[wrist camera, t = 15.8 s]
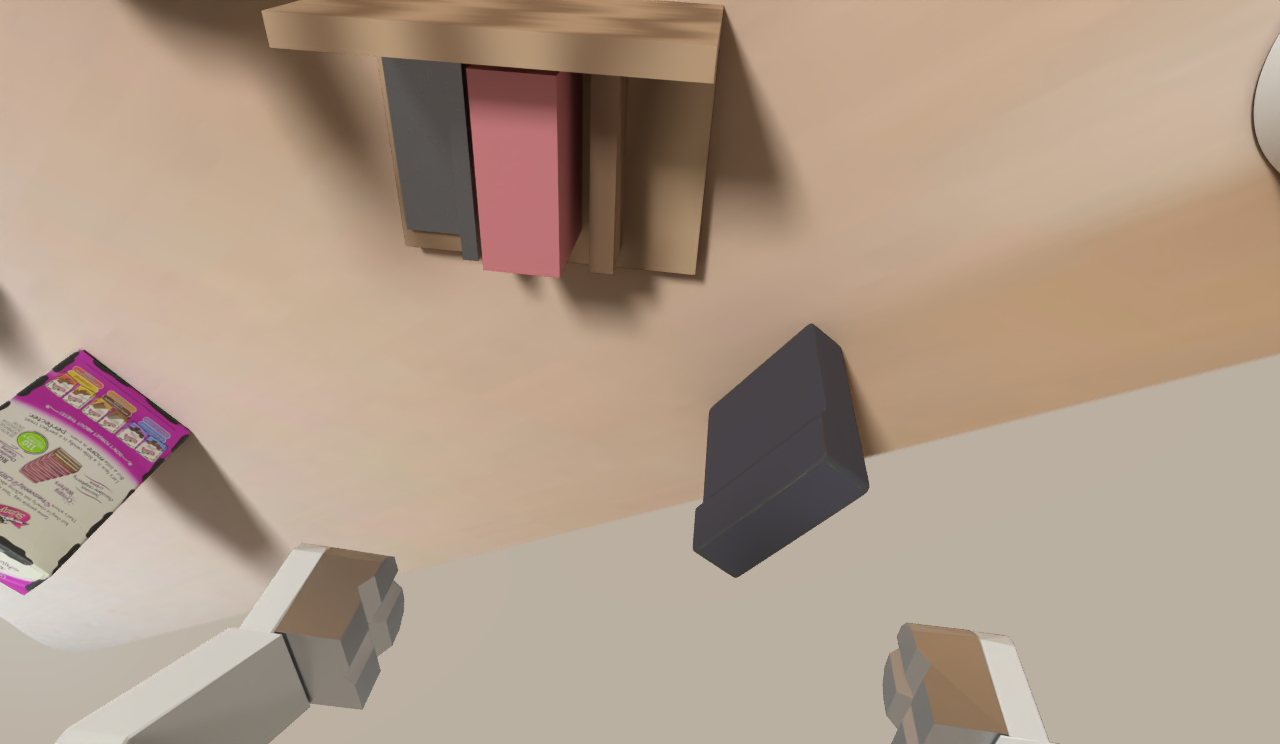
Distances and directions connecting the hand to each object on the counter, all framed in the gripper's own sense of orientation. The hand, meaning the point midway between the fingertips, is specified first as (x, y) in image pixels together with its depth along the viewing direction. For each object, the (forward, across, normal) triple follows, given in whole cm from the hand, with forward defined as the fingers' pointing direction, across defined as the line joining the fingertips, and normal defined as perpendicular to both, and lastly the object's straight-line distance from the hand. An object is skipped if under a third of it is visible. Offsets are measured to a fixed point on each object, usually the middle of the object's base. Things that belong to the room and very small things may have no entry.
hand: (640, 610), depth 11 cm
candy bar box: (+37, +49, +31) cm, 69 cm away
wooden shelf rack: (+37, +10, +4) cm, 39 cm away
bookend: (+36, +17, +4) cm, 39 cm away
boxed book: (+36, +10, +4) cm, 37 cm away
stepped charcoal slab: (+37, -7, +21) cm, 43 cm away
